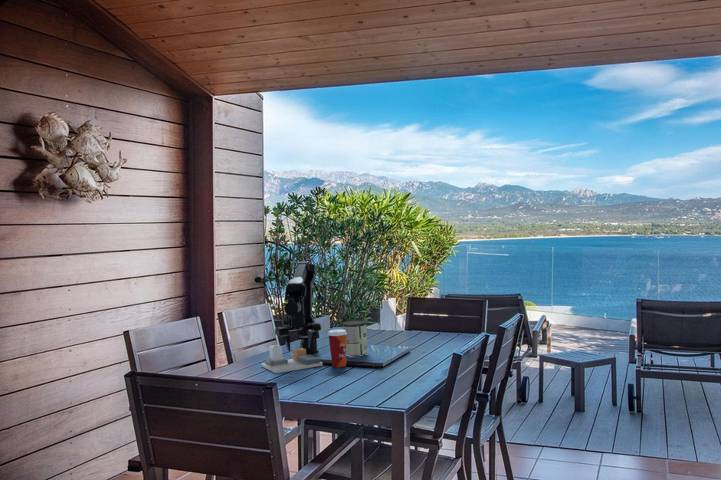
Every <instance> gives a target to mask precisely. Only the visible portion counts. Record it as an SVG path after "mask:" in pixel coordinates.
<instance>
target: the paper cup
mask: <svg viewBox="0 0 721 480" xmlns="http://www.w3.org/2000/svg"><path fill="white" fill-rule="evenodd" d="M346 334H347V333H346V330H343V328H342V329H341V328H340V329H332V330H331V329H330V330H329V331H328V334H327V336H328V340H329V341H328V342H329V349H330V359H331V366H332V368H344V367H346V366H347V357H346Z"/></svg>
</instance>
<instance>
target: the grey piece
mask: <svg viewBox="0 0 721 480" xmlns="http://www.w3.org/2000/svg"><path fill="white" fill-rule="evenodd" d="M296 358H297V362H300V363H302V364H305V365H311V364H317V363H320V362H321V358H320V357H317V356H314V355H313V354H306V355H304V356H298V357H296Z"/></svg>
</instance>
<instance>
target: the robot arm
mask: <svg viewBox="0 0 721 480" xmlns="http://www.w3.org/2000/svg"><path fill="white" fill-rule="evenodd" d="M295 266H296V267H295V272H294V275H293V278H292V279H289V281H288V282H287V285H285V293H284V301H287V302H286V303H285V305H284V307H283V310H284V313H285V314H286V315H287V316H289V317H282V318H281V325H282V326H279V327H276V328H274V335H276V336H278V337H281V339H282V340H283V342H284V344H285V347H286V349H287V352H291V338H290V337H291V336H290V335H289V333H297V339H298V340H300V343H299V348H304V349H306V355H311V354H313V353H314V354H316V353H319V350H318V343H317V342H318V339H320V332H319V331H322V325H321V324H320V323H318V322H316V320H315V319H314V317H313V283H314V282H315V280H316V278H317V274H318V269H317V266H316V264H314V263H310V262H309V261H298V262H297V263H296V265H295Z"/></svg>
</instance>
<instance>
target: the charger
mask: <svg viewBox="0 0 721 480" xmlns="http://www.w3.org/2000/svg"><path fill="white" fill-rule="evenodd" d="M268 350H269V359H270V361H272V362H274V361H281V360H283V358H284V357H283V346H282V345H280V344H276V345H269V346H268Z"/></svg>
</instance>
